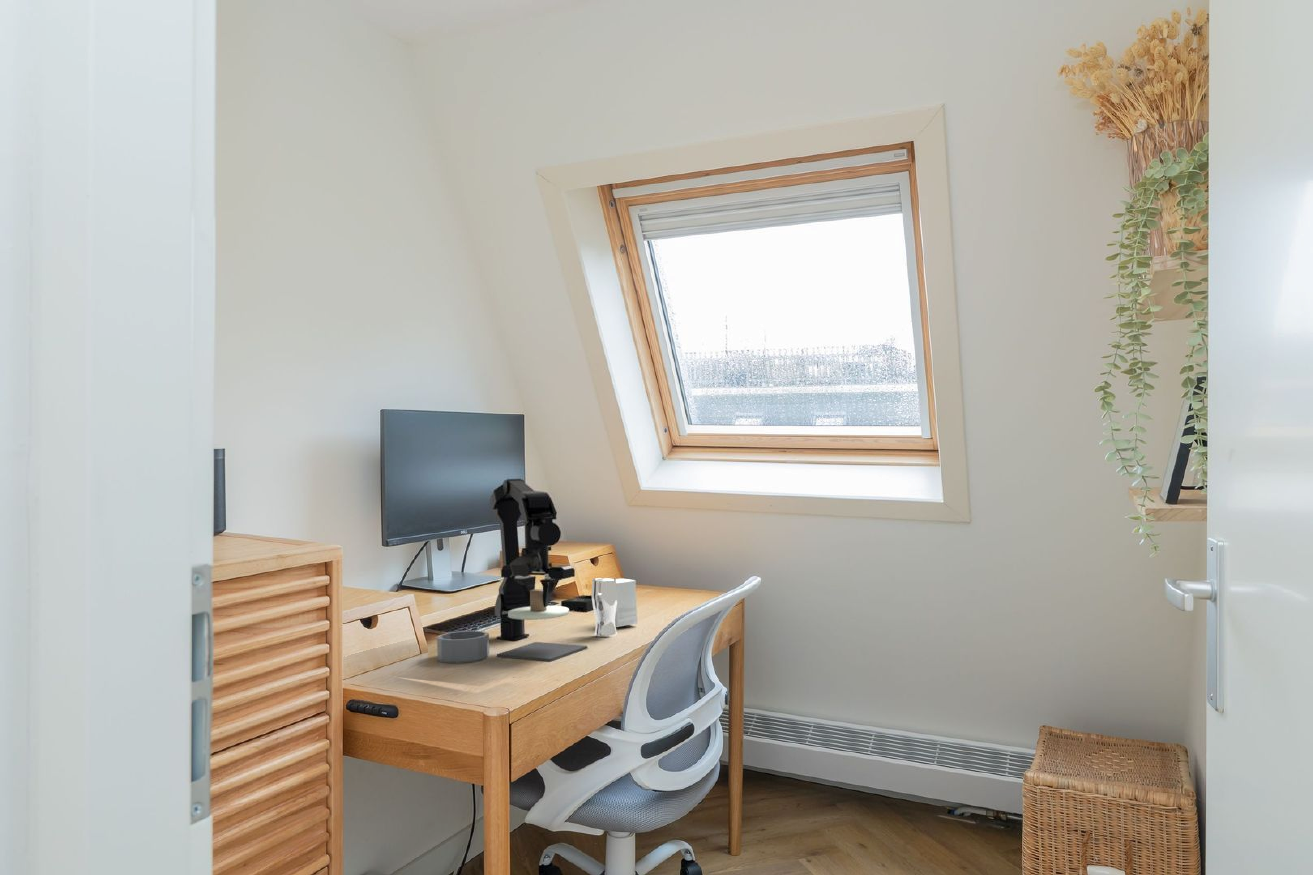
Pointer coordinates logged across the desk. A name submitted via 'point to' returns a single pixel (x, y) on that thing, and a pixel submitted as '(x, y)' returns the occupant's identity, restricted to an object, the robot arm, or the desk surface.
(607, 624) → the beer glass
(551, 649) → the mat
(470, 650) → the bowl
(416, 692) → the desk surface
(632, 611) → the supplement box
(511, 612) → the lid
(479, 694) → the desk surface
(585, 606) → the battery charger
